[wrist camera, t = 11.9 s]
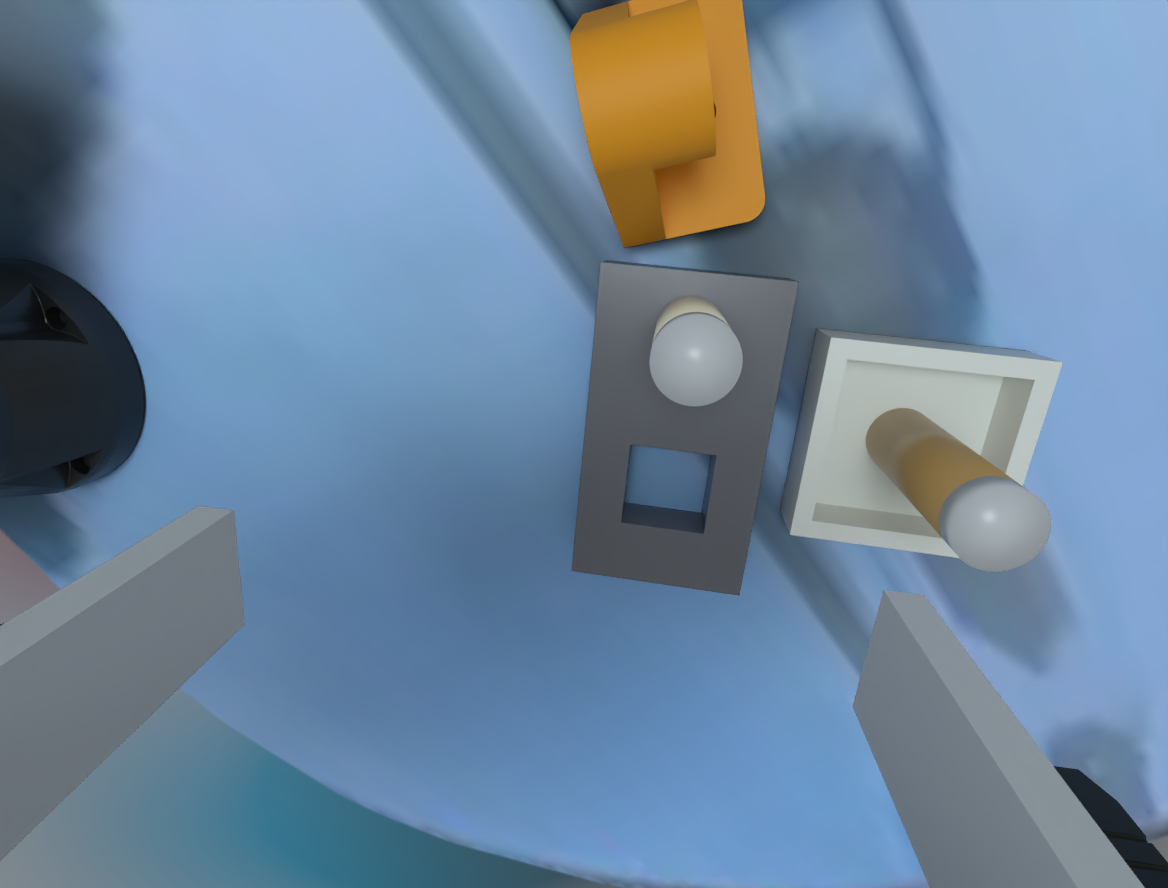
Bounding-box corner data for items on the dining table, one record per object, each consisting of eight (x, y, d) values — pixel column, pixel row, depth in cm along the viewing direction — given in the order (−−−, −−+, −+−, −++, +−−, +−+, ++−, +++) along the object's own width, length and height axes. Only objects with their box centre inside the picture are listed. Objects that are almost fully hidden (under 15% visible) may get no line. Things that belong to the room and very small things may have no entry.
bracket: (760, 219, 35) (802, 209, 23) (627, 247, 36) (606, 250, 25) (733, -9, 32) (766, -147, 20) (589, 31, 33) (545, -77, 22)
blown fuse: (859, 464, 37) (939, 564, 26) (873, 404, 36) (964, 481, 25) (924, 472, 37) (1034, 577, 26) (941, 412, 36) (1064, 493, 24)
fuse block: (734, 570, 41) (758, 698, 30) (578, 548, 42) (543, 663, 30) (788, 278, 35) (843, 297, 24) (606, 260, 36) (576, 270, 25)
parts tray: (780, 509, 39) (789, 534, 36) (816, 328, 36) (831, 337, 33) (969, 535, 38) (997, 563, 35) (1025, 350, 35) (1062, 362, 31)
